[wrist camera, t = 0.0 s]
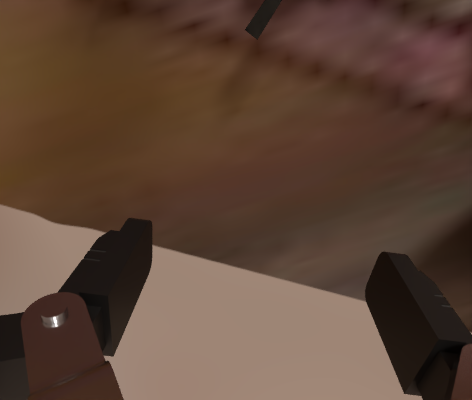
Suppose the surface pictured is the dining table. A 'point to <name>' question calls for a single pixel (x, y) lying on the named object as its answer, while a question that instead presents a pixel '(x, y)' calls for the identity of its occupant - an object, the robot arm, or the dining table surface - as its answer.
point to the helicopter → (262, 17)
